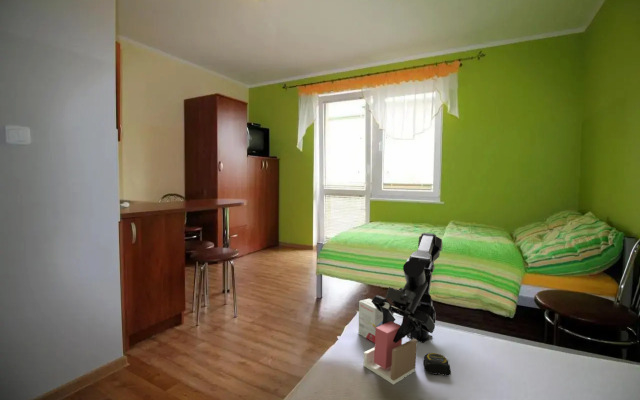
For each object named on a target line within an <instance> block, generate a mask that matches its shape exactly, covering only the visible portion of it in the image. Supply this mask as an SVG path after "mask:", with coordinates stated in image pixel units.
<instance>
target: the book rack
mask: <svg viewBox="0 0 640 400" xmlns="http://www.w3.org/2000/svg"><path fill="white" fill-rule="evenodd" d="M417 346H418V341H417V340H416V339H413V338H411V339H410V340H408V341H406V342H404V343H402V345H400V346H398V347H396V348H394V349H392V365H391V366H390V367H389V368H387V369H384V368H383V367H381V366H379V365H378V364H376V363H374V351H375V346H374V347H372V348H370V349H368V350H366V351H364V352H363V367H365V368H367V369H368V370H370V371H371V372H373V373H374V374H376V375H378V376H379V377H381V378H382V379H384V380H385V381H388V382H389V383H391V384H392V385H395V384H396V383H397V384H398V382H400V381H402V380H403V379H405V378H407V377H408V376H409V374H410V373H411V374H413V373H414V372H416V362H417V361H416V360H417ZM412 372H413V373H412ZM411 374H410V375H411ZM407 375H408V376H407ZM404 377H405V378H404Z"/></svg>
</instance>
